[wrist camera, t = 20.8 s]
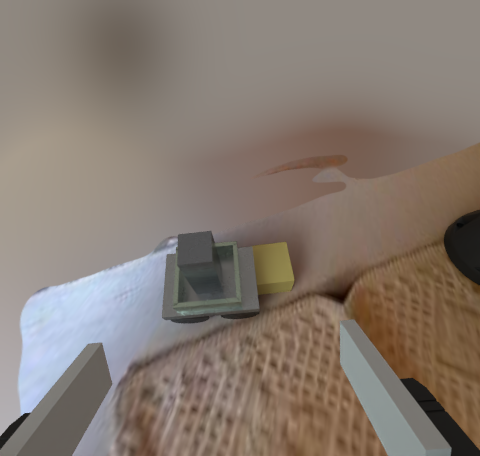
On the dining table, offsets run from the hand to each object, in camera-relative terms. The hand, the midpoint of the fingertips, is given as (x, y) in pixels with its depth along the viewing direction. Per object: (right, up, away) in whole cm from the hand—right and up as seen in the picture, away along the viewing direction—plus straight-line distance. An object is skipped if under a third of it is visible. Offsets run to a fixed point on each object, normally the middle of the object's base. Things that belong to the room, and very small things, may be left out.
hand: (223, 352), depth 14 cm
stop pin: (-4, -1, +25) cm, 26 cm away
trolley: (-3, -5, +32) cm, 32 cm away
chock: (+7, -2, +33) cm, 34 cm away
